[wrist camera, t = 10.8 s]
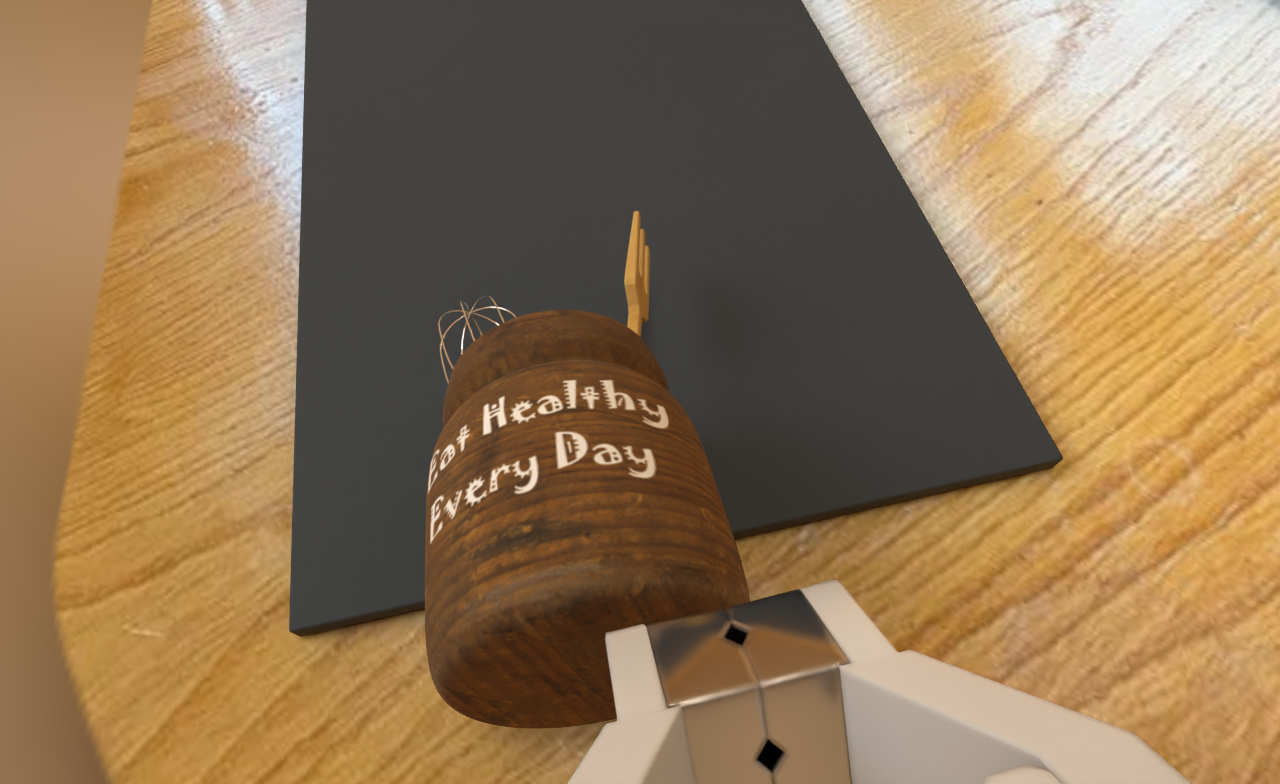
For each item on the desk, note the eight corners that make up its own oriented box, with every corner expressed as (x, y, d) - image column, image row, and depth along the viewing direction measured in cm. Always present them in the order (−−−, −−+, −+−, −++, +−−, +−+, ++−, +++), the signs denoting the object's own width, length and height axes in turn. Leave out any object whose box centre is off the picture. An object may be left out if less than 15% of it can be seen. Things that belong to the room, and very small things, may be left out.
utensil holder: (499, 760, 15) (477, 363, 23) (791, 676, 14) (664, 304, 22) (349, 661, 10) (387, 212, 18) (765, 537, 10) (618, 137, 18)
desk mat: (298, 637, 17) (287, 632, 17) (314, -101, 35) (309, -115, 34) (1054, 467, 19) (1065, 459, 19) (705, -154, 37) (706, -167, 36)
